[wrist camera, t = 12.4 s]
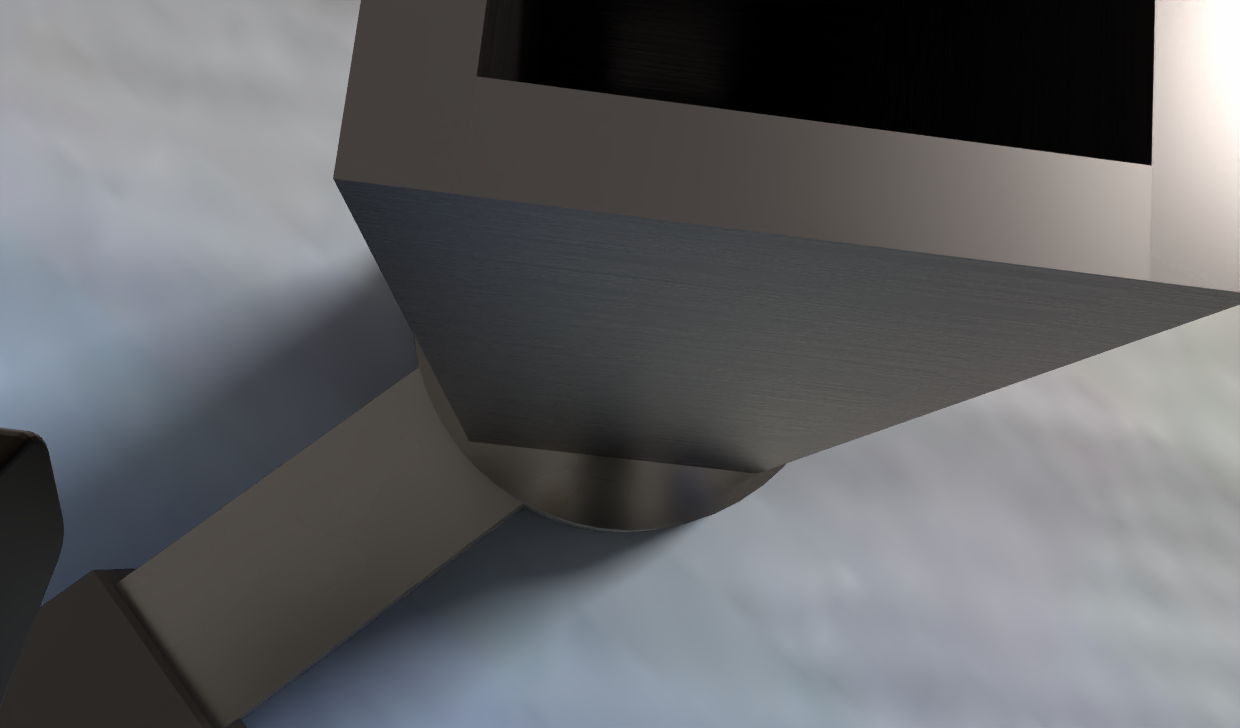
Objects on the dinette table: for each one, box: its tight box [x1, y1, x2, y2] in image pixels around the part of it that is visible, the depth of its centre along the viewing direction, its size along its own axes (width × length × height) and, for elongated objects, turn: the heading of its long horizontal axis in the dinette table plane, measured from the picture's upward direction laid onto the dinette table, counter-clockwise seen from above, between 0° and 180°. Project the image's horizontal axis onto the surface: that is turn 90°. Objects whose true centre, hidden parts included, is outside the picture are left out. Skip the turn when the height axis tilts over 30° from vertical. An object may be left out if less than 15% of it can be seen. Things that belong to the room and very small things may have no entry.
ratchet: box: [0, 334, 786, 728], centre depth 17 cm, size 20×7×5 cm, turn 127°
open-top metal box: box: [333, 0, 1240, 474], centre depth 12 cm, size 5×5×12 cm
